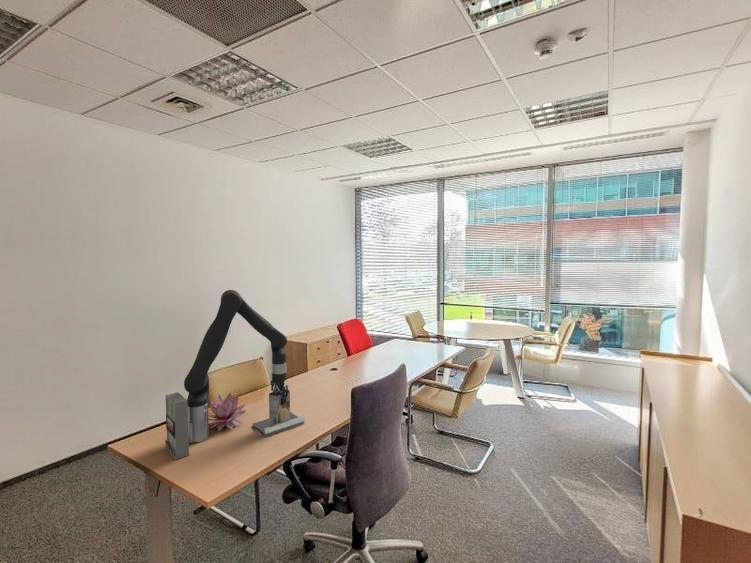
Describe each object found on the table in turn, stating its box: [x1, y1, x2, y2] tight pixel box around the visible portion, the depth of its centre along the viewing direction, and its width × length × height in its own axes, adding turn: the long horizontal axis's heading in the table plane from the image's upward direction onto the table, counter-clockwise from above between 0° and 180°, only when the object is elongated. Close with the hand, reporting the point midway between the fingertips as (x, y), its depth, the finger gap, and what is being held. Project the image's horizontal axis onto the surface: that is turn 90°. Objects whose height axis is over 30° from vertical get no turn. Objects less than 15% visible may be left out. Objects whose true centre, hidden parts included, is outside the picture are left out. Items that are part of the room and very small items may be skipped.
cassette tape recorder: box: [164, 392, 190, 461], centre depth 164 cm, size 14×6×25 cm, turn 44°
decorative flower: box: [208, 392, 247, 432], centre depth 190 cm, size 21×21×15 cm
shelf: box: [252, 411, 305, 438], centre depth 192 cm, size 22×15×4 cm
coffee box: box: [268, 389, 291, 425], centre depth 190 cm, size 9×6×16 cm
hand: (279, 402), depth 190 cm, fingers closed on coffee box, 7 cm apart
